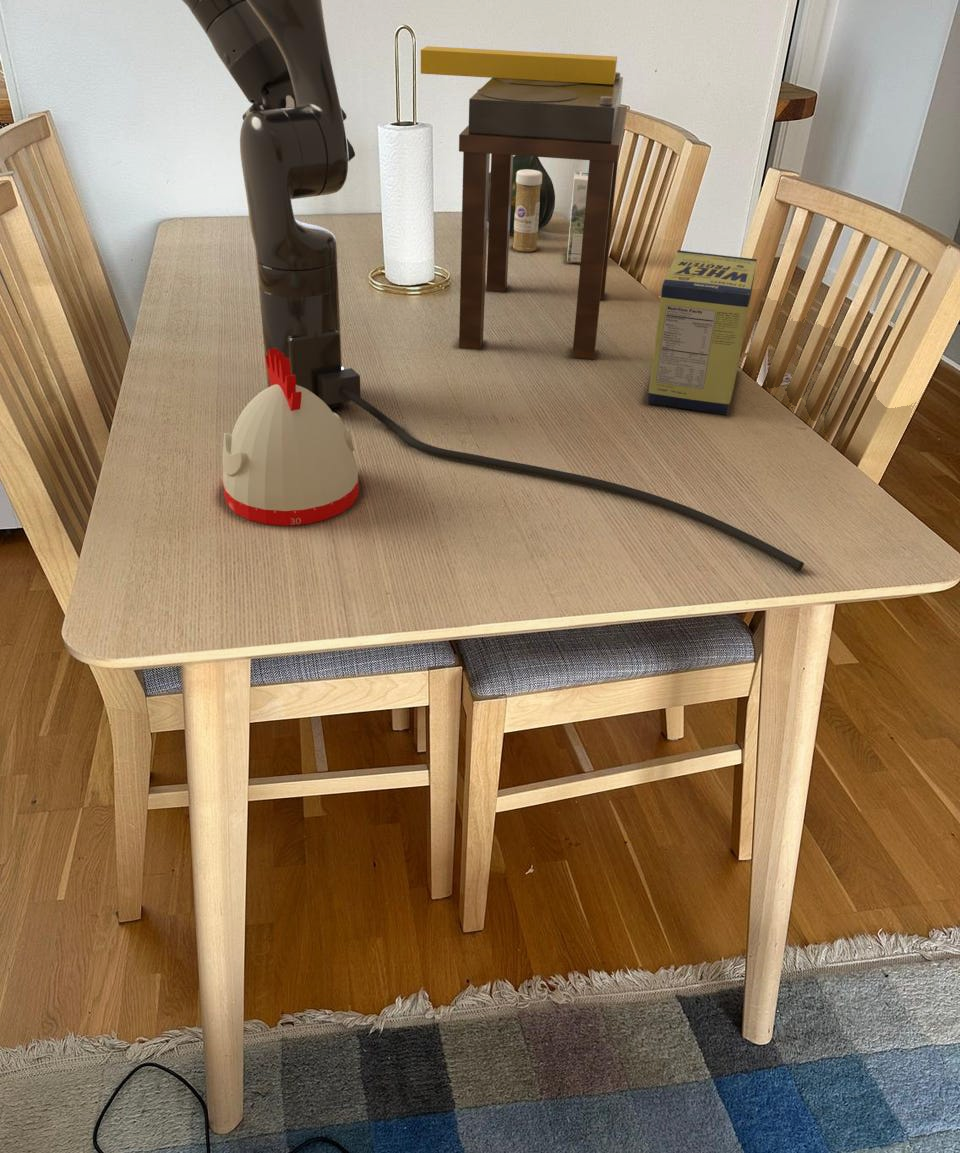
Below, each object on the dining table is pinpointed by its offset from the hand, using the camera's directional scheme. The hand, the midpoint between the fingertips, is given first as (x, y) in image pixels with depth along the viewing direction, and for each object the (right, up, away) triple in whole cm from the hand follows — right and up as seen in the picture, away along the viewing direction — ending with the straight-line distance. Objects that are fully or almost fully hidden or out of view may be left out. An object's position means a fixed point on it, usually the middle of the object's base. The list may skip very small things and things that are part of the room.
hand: (330, 170), depth 129 cm
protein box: (+47, -27, +4) cm, 55 cm away
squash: (+26, +15, +66) cm, 73 cm away
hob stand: (+28, -13, +24) cm, 39 cm away
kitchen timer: (-1, -43, -23) cm, 49 cm away
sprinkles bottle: (+27, +8, +55) cm, 62 cm away
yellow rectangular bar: (+24, +18, +13) cm, 33 cm away
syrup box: (+37, +4, +51) cm, 63 cm away
